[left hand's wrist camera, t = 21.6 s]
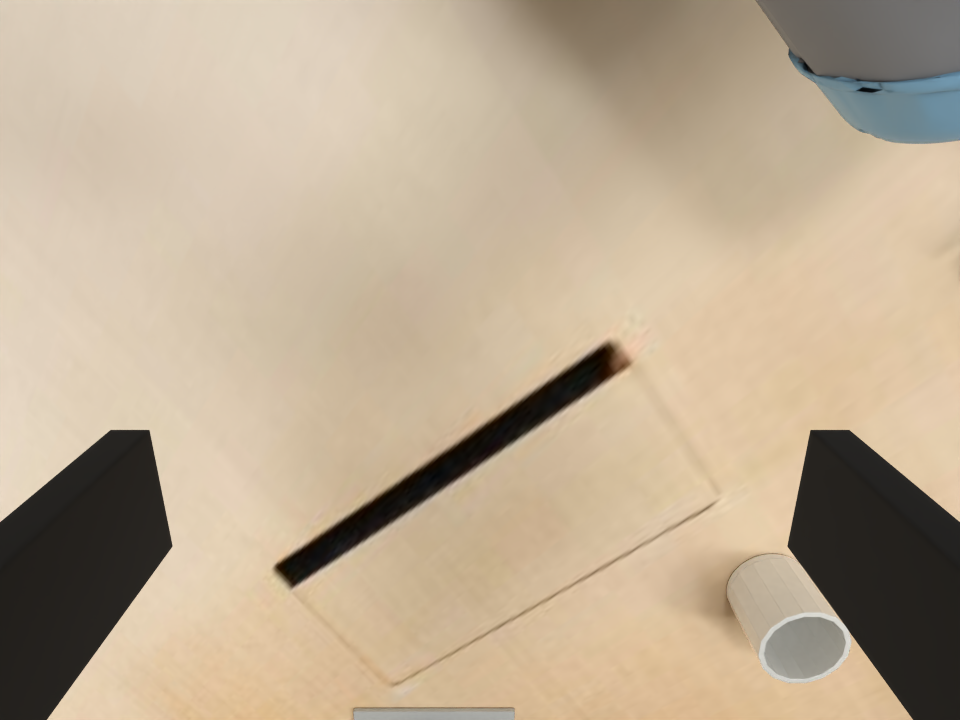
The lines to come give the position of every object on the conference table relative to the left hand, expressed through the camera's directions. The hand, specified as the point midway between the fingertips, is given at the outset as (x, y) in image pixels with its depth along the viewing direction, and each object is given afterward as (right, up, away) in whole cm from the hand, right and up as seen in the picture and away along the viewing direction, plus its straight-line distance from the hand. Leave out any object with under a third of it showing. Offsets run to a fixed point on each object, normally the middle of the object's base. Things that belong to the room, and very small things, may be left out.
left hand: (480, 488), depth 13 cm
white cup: (+23, -16, +39) cm, 47 cm away
